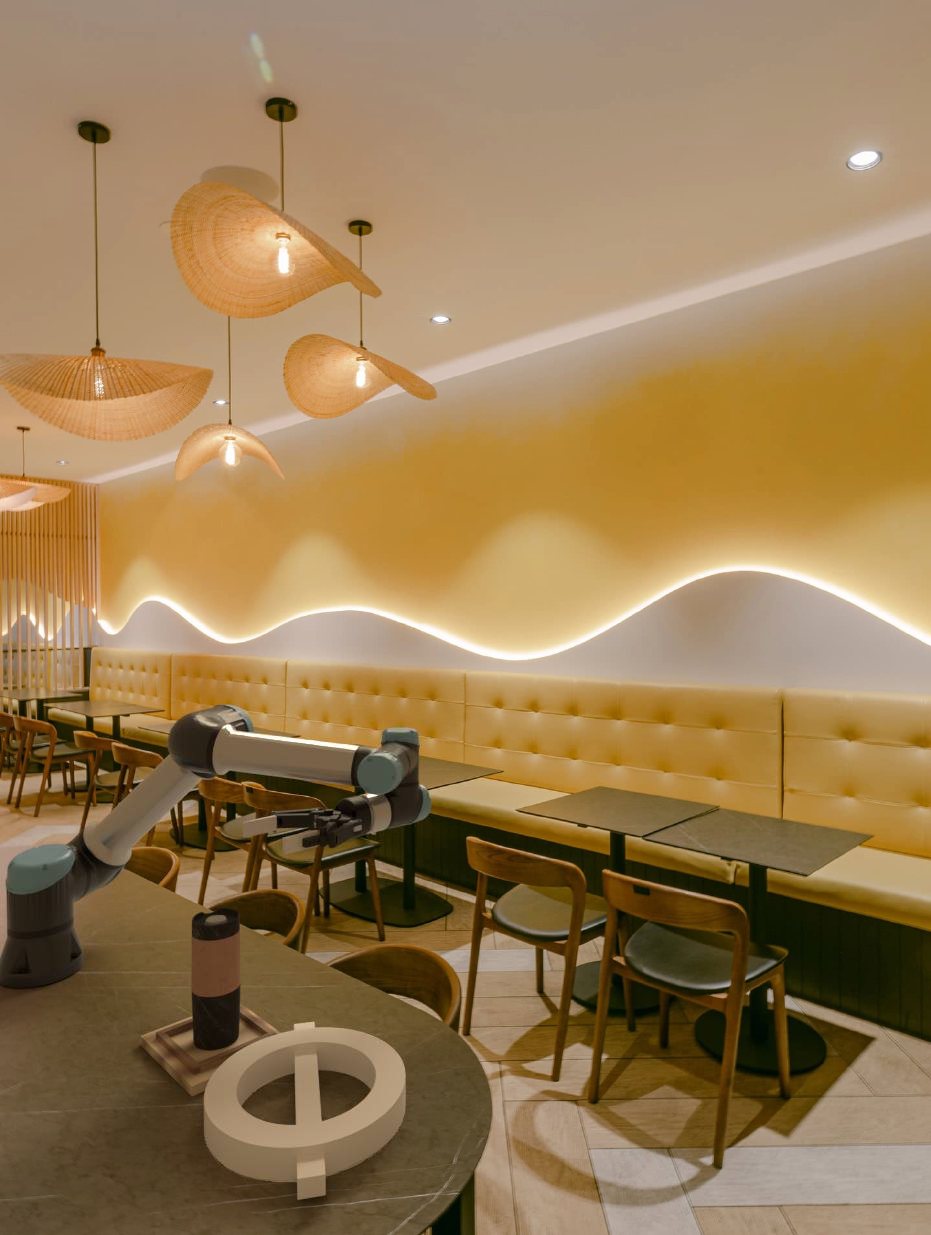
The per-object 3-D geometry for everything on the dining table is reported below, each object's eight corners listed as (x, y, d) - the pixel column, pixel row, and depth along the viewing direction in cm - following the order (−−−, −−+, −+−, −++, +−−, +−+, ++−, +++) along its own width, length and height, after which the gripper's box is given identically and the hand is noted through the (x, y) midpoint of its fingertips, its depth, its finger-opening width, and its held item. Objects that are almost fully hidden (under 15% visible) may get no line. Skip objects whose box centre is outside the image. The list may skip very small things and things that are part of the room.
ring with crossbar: (312, 1218, 91) (312, 1178, 91) (160, 1134, 106) (159, 1099, 106) (443, 1093, 115) (443, 1061, 115) (303, 1038, 130) (303, 1010, 130)
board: (140, 1045, 127) (140, 1029, 127) (235, 1008, 139) (235, 994, 139) (192, 1096, 114) (192, 1079, 114) (292, 1050, 126) (292, 1035, 126)
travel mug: (226, 1054, 122) (225, 927, 122) (182, 1048, 124) (181, 923, 123) (249, 1028, 130) (248, 909, 129) (207, 1024, 131) (206, 906, 131)
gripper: (403, 848, 141) (302, 876, 126) (324, 822, 158) (228, 843, 143) (403, 807, 140) (302, 830, 126) (324, 785, 158) (228, 803, 143)
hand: (262, 837), depth 135 cm, fingers open, 13 cm apart
